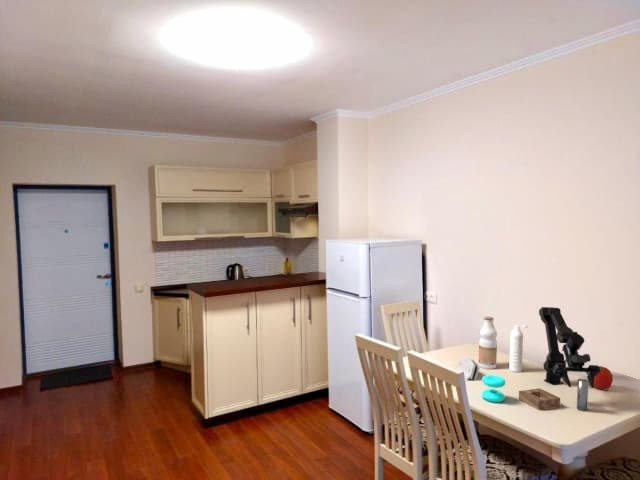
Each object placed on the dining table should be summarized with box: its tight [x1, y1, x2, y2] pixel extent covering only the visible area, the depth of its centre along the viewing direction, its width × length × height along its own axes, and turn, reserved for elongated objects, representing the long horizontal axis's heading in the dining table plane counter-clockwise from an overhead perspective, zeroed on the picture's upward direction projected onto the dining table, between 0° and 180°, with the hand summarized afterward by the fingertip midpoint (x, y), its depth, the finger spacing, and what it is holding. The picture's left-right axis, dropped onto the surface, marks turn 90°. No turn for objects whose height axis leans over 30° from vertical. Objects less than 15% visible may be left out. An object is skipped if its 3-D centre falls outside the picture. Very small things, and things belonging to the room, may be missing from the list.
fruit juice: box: [478, 316, 498, 370], centre depth 256 cm, size 9×9×28 cm
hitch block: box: [518, 387, 561, 411], centre depth 208 cm, size 12×12×4 cm
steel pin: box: [576, 378, 589, 412], centre depth 201 cm, size 4×4×13 cm
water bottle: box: [508, 324, 528, 373], centre depth 251 cm, size 9×6×25 cm
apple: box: [593, 365, 614, 391], centre depth 226 cm, size 10×10×12 cm
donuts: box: [481, 374, 506, 403], centre depth 212 cm, size 10×10×10 cm
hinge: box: [453, 356, 480, 381], centre depth 243 cm, size 17×5×10 cm, turn 8°
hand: (581, 387), depth 202 cm, fingers open, 9 cm apart
